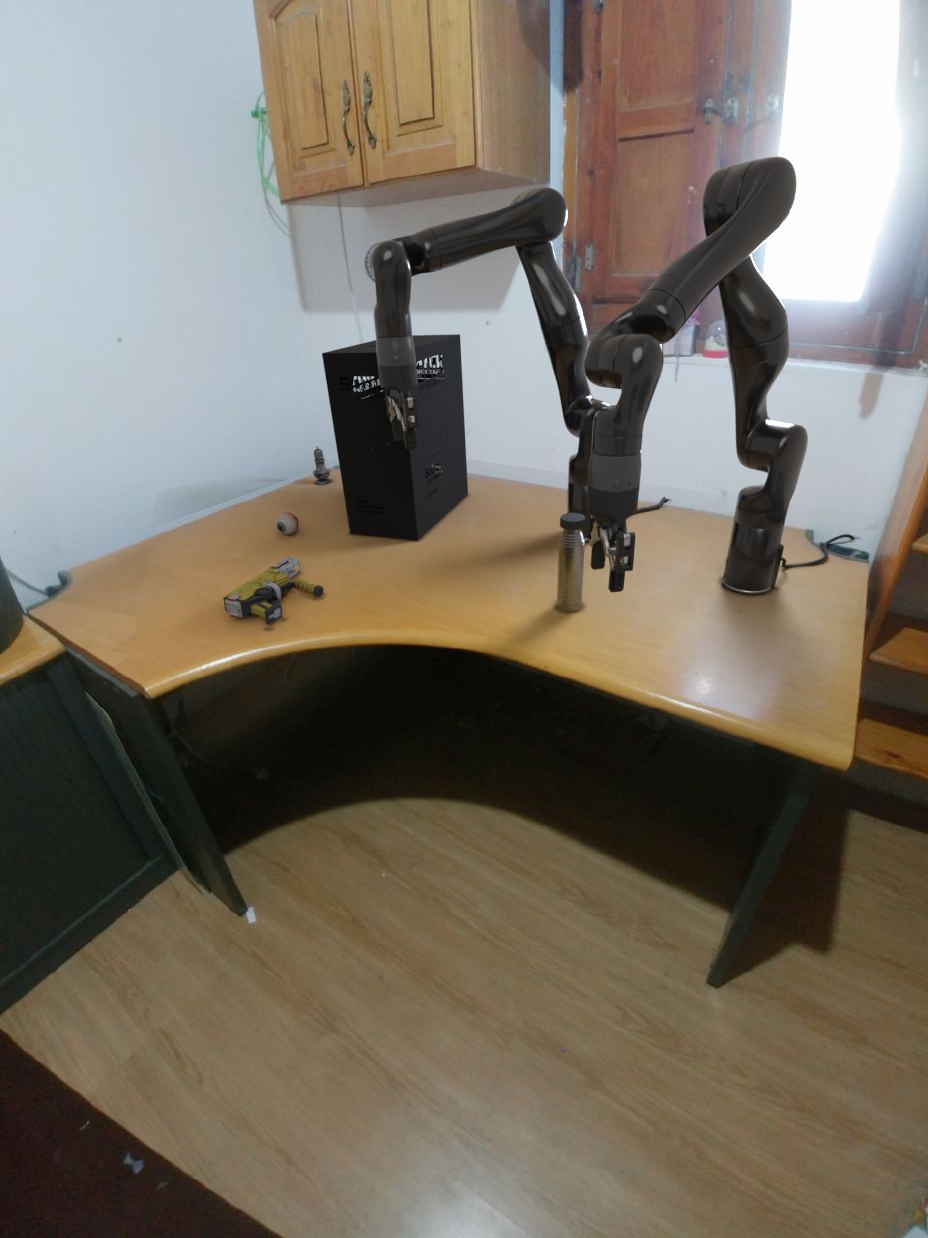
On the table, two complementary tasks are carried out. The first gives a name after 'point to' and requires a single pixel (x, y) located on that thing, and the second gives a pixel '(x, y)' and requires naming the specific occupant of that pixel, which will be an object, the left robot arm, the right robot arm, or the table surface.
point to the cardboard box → (389, 473)
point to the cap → (572, 521)
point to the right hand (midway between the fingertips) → (606, 579)
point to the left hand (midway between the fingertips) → (404, 444)
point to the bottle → (570, 570)
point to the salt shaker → (320, 468)
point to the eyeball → (287, 523)
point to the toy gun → (267, 592)
